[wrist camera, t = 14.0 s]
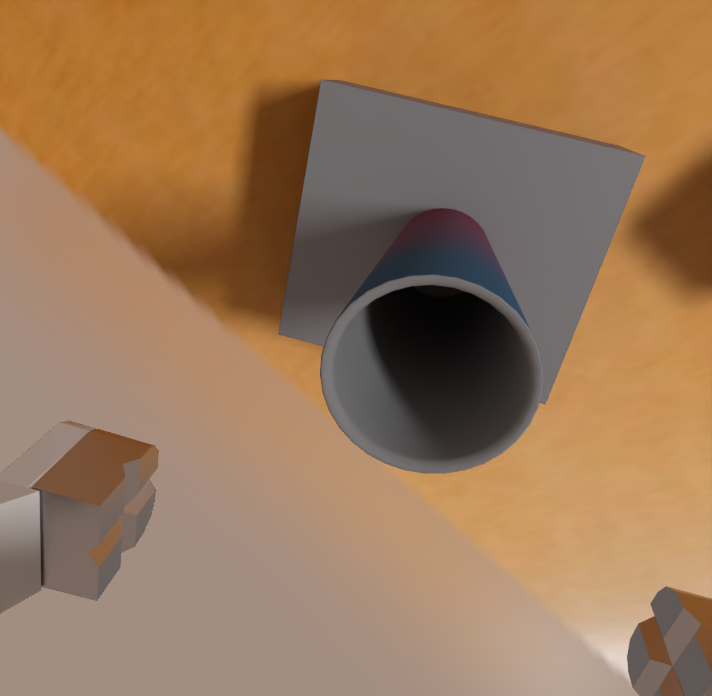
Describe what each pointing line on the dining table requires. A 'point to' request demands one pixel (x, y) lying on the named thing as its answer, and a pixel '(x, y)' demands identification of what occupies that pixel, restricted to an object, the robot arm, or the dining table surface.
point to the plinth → (452, 205)
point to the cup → (433, 352)
